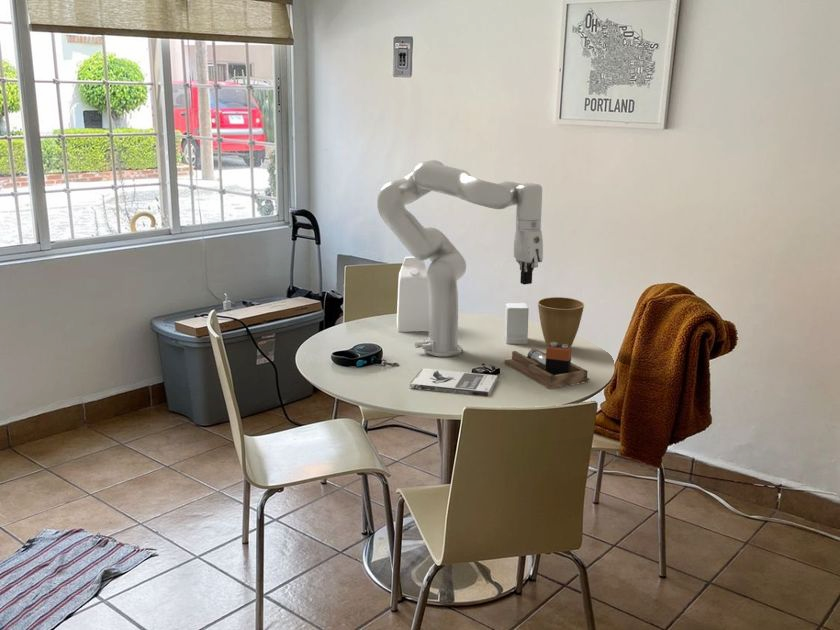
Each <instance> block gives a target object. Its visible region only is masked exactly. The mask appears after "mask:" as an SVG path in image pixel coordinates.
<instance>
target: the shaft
mask: <svg viewBox="0 0 840 630" xmlns="http://www.w3.org/2000/svg"><path fill="white" fill-rule="evenodd" d="M526 357H528V358H530V359H531V360H533V361H535V362H537V363H539V364H540V367H541V368H543V369H545V365H546V355H544V354H542V353H540V352H538V351H536V350H532V349H531V350H530V351H529V352H528V353H527V355H526Z"/></svg>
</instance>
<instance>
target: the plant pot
mask: <svg viewBox="0 0 840 630" xmlns="http://www.w3.org/2000/svg"><path fill="white" fill-rule="evenodd" d="M537 305H538V306H537V308H538V314H539V321H540V322H539V323H540V326H541V332H542V335H543V339H544V342H545V345H546V347H547V346H548V345H549V344H550V343H551V342H556V343H557V344H558V345H563V344H567V345H568V346H571V347H572V345H573V343H574V341H575V339H576V336H577V334H578V330H579V328H580V323H581V321H582V317H583V312H584V308H585V303H584V302H583V301H581V300H579V299H575V298H571V297H563V296H562V297H561V296H560V297H559V296H557V297H555V296H554V297H553V296H552V297H546V298H541V299H539V300H538V301H537Z"/></svg>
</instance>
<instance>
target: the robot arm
mask: <svg viewBox="0 0 840 630" xmlns="http://www.w3.org/2000/svg"><path fill="white" fill-rule="evenodd" d="M431 192H435V193H439V194H444V195H448V196H451V197H455V198H458V199H461V200H462V201H463V200H464V201H465V202H468V203H471V204H473V205H477V206H480V207H481V206H482V207H484V208H489V209H494V210H504V209H506V208H509V207H511V206H516V211H515V213H516V214H515V215H516V217H515V232H514V233H515V234H514V241H513V257H514V259H516V260H515V262H516V263H517V264H519V271H520V279H519V280H520V284H522V285H532V283H533V272H534V270H535V268H538V267H539V263H542V262H543V259H544V244H543V243H544V242H543V241H544V240H543V232H542V230H541V229H542V228H541V227H542V207H543V187H542V185H541V184H539V183H534V182H533V183H532V182H529V183H528V182H526V183H520V182H514V181H502V182H500V183H495V182H490V181H487V180H483V179H479V178H477V177H474V176H472V175H471V174H470V173H469V172H468V171H466V170H465V169H460V168H456V167H452V166H448V165H444V163H443V162H442V161H439V160H436V159H431V160H426V161H422V162H419V163H418V164H417V165H416V166H415V167H414V169H413V172H411V173H409V174H408V175H406V176H404V177H402V178H399V179H394V180H391V181H389V182H387V183H385V184H384V185H383V186H382V187H381V189H380V190H379V193H378V197H377V201H376V203H377V210H378V213H379V216H380V218H381V219H382V221H383V222H384V223H385V224H386V226H387V227H388V228H389V229H390V230H391V231H392V233H393V234H394V235H395V236H396V237H397V238H398V240H399V241H400V242H401V243H402V245H403V246H404V247H405V248H406V250H407V251H408V252H409V253H410V254H411V255H412V257H415V258H416V259H418V260H423V261H425V260H430V261H431V262H430V264H429V265H428V268H427V282H428V289H429V331H428V336H427V337H425V340H423V341H416V342H414V348H415V349H419V348H421V349H422V350H423V352H424V353H426V354H427V355H430V356H434V357H441V358H442V357H443V358H444V357H454V356H457V355H460V354H461V353H463V346H461V345H460V344H459V342H458V339H459V337H458V335H459V331H458V330H459V291H458V284H457V283H458V282H457V281H458V280H459V279H461V278H462V277H463V276H464V275H465V274H466V270H467V263H466V260H465V258H464V256H463V255H462V253H461V252H460V251H459V250H458V249H457V248H456V246H455V245H454V244H453V243H452V242H451V241H450V239H449V238H448V237H447V236H446V235H445V234H444V233H443V231H441V230H440V229H438V228H436V227H430V226H429V227H424V226H423V225H422V223H420V221H419V220H418V219H417V217H416V216H414V214H412V213H411V212H410V211H409V210H407V209H406V205H410V204H412V203H413V202H415V201H417V200H419V199H420V198H422V197H424V196H425V195H427V194H429V193H431Z"/></svg>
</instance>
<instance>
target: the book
mask: <svg viewBox="0 0 840 630" xmlns="http://www.w3.org/2000/svg"><path fill="white" fill-rule="evenodd" d="M497 382H498V375H495V374H485V373H475V372H465V371H464V372H463V371H455V370H453V371H452V370H445V369H444V370H443V369H433V368H421V369H420V371H419V372H418V373H417V374H416V376H415V377H413V379H412V380H411V382H410V383H409V388H410V387H411V388H419V389H418V390H421V389H430V390H429V391H431V390H438V391H437V392H441V391H446V392H445V393H451V392H454V394H460V393H463V394H464V395H472V396H481V397H490V395H491V392H492V390H493V389H494V387H495V385H496V383H497ZM411 388H410V389H411Z"/></svg>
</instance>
